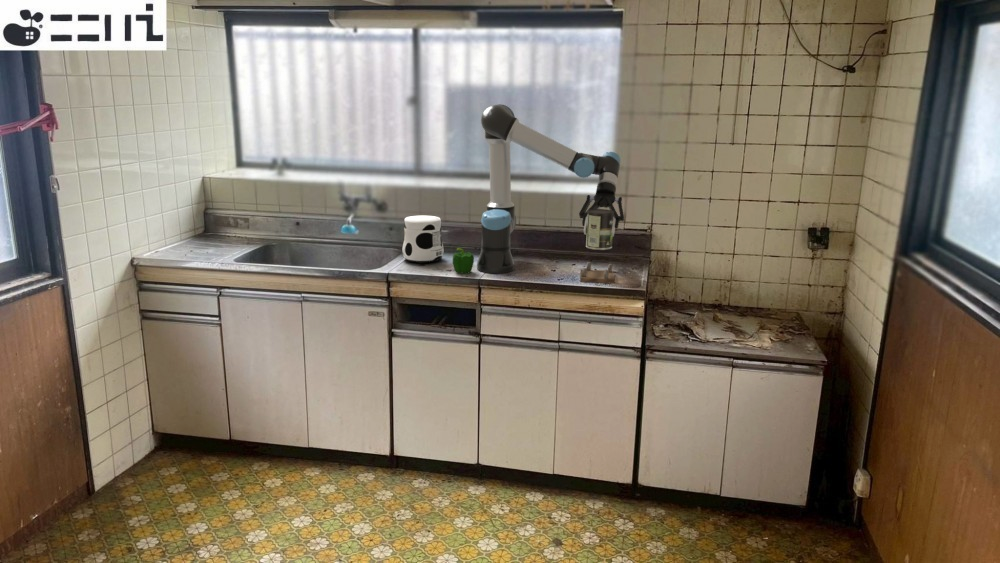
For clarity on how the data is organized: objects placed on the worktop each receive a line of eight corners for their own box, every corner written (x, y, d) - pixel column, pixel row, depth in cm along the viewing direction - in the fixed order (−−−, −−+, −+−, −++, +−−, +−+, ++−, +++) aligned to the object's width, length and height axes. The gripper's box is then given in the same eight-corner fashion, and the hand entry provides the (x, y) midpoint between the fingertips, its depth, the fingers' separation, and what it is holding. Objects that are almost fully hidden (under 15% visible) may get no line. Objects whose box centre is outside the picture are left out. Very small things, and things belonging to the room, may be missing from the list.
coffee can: (612, 245, 279) (615, 209, 275) (611, 250, 270) (613, 214, 266) (586, 243, 281) (588, 208, 277) (584, 249, 272) (586, 212, 268)
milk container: (403, 255, 309) (402, 215, 305) (443, 255, 311) (442, 214, 306) (401, 265, 293) (401, 222, 288) (444, 265, 295) (443, 222, 290)
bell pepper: (476, 270, 286) (476, 246, 284) (470, 276, 279) (470, 251, 276) (456, 269, 288) (456, 245, 286) (450, 274, 281) (449, 249, 278)
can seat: (580, 281, 273) (580, 269, 272) (580, 273, 286) (580, 261, 284) (614, 283, 272) (615, 271, 271) (613, 274, 284) (613, 263, 283)
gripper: (635, 194, 281) (628, 241, 271) (579, 191, 287) (570, 236, 277) (635, 182, 275) (628, 230, 265) (577, 179, 281) (568, 225, 271)
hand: (598, 233), depth 271 cm, fingers closed on coffee can, 10 cm apart
